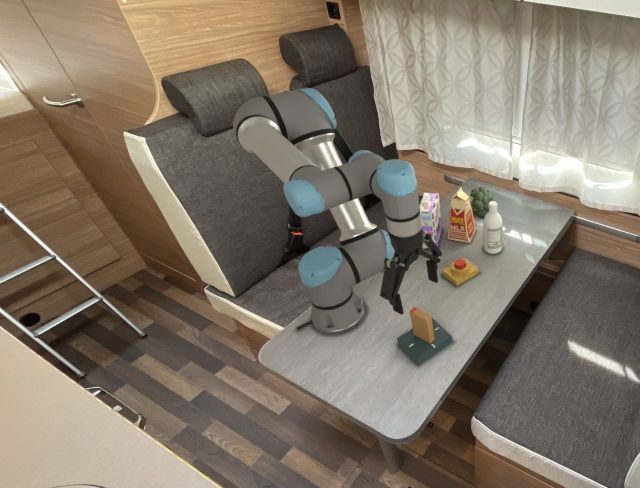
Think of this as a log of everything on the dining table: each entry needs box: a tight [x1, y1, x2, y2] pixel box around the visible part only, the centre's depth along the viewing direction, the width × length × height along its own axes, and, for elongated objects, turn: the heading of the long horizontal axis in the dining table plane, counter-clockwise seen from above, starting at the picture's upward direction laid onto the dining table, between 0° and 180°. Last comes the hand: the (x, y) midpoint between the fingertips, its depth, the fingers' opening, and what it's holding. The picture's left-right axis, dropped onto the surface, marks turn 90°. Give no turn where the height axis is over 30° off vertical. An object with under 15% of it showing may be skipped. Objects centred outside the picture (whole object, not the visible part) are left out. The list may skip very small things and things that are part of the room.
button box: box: [441, 257, 480, 287], centre depth 140 cm, size 10×8×4 cm
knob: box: [409, 306, 435, 343], centre depth 112 cm, size 6×2×10 cm, turn 59°
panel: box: [396, 316, 453, 366], centre depth 116 cm, size 12×10×3 cm
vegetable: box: [469, 186, 495, 219], centre depth 167 cm, size 12×13×15 cm
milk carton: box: [447, 186, 476, 244], centre depth 152 cm, size 9×9×20 cm
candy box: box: [419, 192, 443, 250], centre depth 150 cm, size 14×6×16 cm, turn 179°
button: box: [454, 258, 466, 269], centre depth 138 cm, size 4×4×2 cm
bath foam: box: [482, 200, 504, 255], centre depth 146 cm, size 7×7×20 cm
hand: (416, 295), depth 105 cm, fingers open, 13 cm apart
